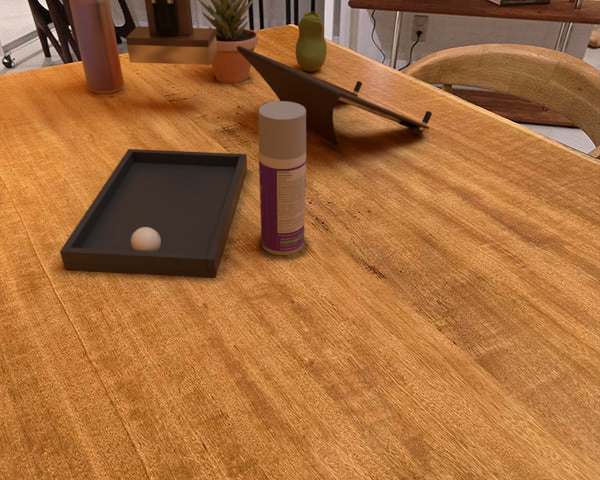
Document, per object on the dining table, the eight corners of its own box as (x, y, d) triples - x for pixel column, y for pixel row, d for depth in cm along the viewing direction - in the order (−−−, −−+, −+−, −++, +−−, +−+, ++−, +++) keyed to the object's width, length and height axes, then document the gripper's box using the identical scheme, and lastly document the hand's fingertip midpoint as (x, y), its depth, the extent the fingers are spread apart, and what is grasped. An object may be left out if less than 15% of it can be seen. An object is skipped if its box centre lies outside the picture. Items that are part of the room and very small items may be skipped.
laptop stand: (422, 179, 89) (450, 120, 86) (317, 149, 73) (347, 76, 69) (326, 128, 103) (347, 75, 100) (220, 94, 87) (241, 30, 83)
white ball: (134, 250, 62) (128, 259, 60) (133, 222, 61) (127, 231, 58) (163, 251, 63) (158, 261, 60) (163, 224, 61) (157, 233, 59)
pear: (326, 66, 110) (329, 8, 104) (324, 76, 106) (326, 16, 100) (297, 65, 111) (297, 7, 105) (293, 74, 107) (294, 15, 100)
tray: (64, 269, 60) (59, 251, 59) (131, 164, 79) (128, 148, 77) (215, 277, 60) (214, 259, 58) (247, 170, 78) (246, 153, 76)
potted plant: (258, 67, 109) (253, -91, 94) (259, 86, 102) (254, -83, 86) (203, 68, 109) (190, -92, 93) (201, 86, 101) (186, -84, 86)
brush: (129, 62, 87) (117, -9, 81) (140, 50, 92) (130, -18, 86) (210, 65, 87) (204, -6, 81) (217, 52, 91) (212, -16, 85)
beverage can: (98, 97, 97) (77, -3, 87) (82, 87, 100) (60, -10, 91) (131, 89, 100) (114, -9, 90) (114, 79, 103) (96, -16, 94)
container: (255, 236, 66) (250, 104, 56) (294, 228, 67) (295, 97, 58) (270, 259, 62) (267, 122, 53) (310, 250, 64) (315, 115, 54)
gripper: (139, -129, 81) (158, 14, 93) (101, -119, 69) (129, 45, 81) (193, -128, 81) (205, 16, 93) (165, -118, 69) (183, 47, 80)
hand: (170, 28), depth 87 cm, fingers closed on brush, 2 cm apart
